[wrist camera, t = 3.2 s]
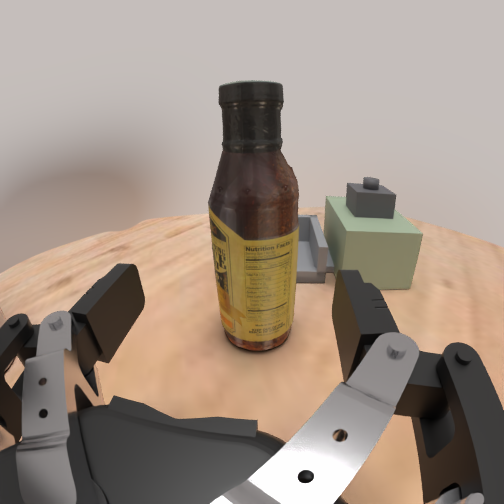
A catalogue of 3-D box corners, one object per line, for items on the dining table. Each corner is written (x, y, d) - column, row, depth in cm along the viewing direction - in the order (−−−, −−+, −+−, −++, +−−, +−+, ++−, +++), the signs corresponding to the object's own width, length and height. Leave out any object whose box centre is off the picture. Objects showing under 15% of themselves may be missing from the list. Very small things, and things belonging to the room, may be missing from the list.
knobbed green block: (226, 288, 31) (219, 188, 26) (242, 238, 43) (239, 167, 38) (409, 288, 28) (429, 196, 24) (376, 241, 41) (384, 172, 36)
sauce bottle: (229, 308, 27) (214, 93, 19) (292, 310, 27) (296, 90, 18) (215, 356, 21) (187, 81, 13) (293, 360, 21) (302, 75, 12)
